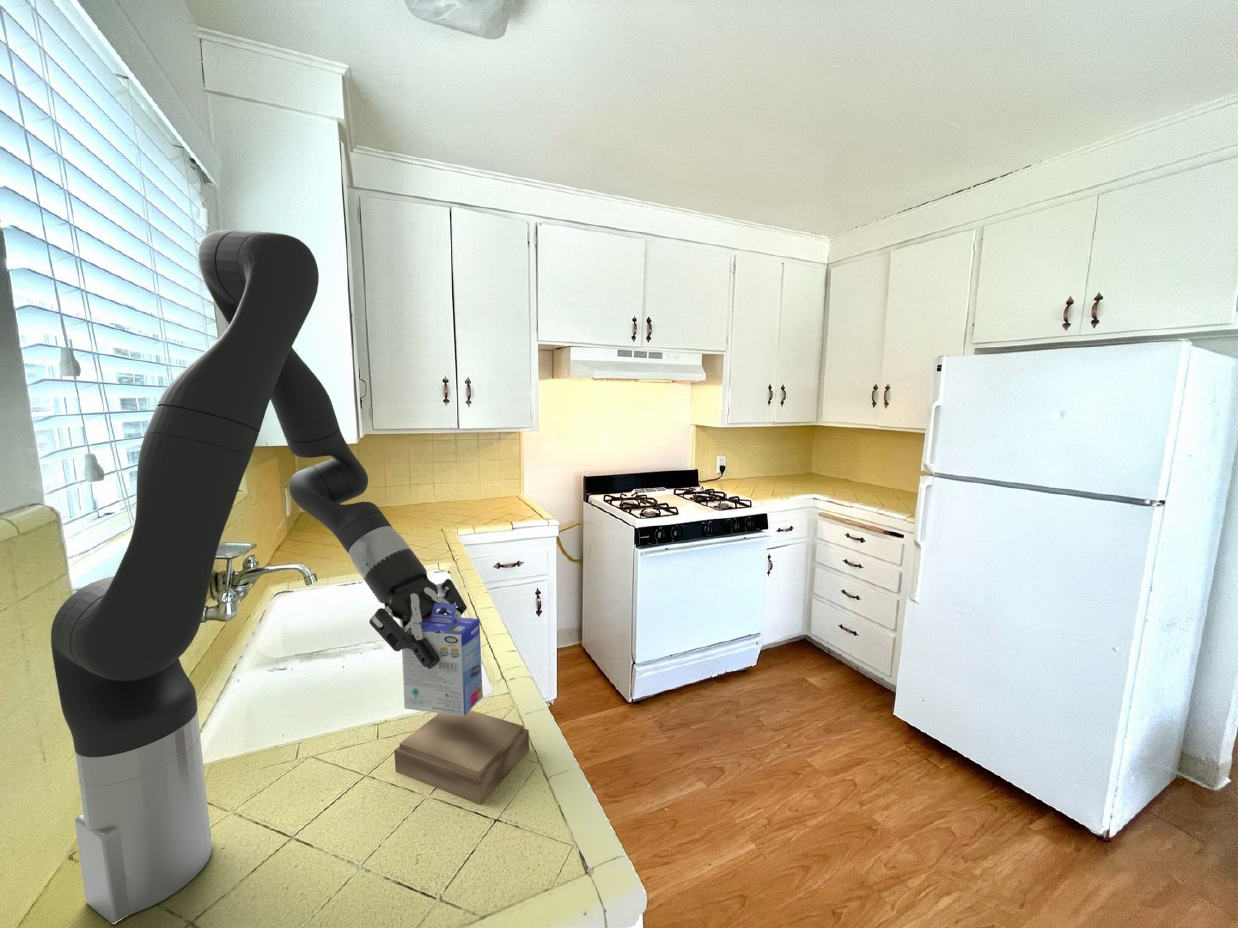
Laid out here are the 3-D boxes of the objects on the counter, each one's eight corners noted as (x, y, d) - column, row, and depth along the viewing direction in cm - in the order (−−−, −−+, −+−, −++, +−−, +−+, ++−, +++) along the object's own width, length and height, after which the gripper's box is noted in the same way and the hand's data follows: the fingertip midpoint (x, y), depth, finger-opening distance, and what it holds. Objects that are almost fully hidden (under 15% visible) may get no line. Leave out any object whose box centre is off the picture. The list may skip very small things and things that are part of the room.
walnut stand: (480, 804, 61) (479, 775, 61) (395, 771, 67) (393, 744, 67) (529, 749, 71) (528, 724, 71) (451, 725, 77) (450, 701, 77)
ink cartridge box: (485, 695, 71) (481, 602, 70) (466, 718, 66) (461, 618, 64) (426, 687, 73) (420, 597, 72) (403, 710, 68) (396, 613, 66)
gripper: (355, 562, 64) (426, 664, 60) (436, 536, 77) (498, 619, 73) (331, 595, 67) (398, 694, 63) (413, 564, 80) (473, 645, 76)
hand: (452, 653), depth 68 cm, fingers closed on ink cartridge box, 6 cm apart
